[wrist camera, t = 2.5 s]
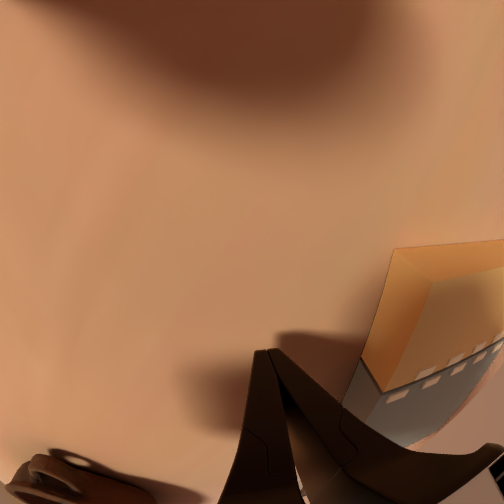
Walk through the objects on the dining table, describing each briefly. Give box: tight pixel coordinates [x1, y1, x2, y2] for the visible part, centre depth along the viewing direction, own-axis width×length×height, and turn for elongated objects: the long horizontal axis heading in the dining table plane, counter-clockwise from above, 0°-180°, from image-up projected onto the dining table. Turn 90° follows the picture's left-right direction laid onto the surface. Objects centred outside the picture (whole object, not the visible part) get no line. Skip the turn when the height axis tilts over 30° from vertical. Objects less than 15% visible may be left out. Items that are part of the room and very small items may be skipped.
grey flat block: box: [341, 337, 504, 448], centre depth 16 cm, size 12×12×3 cm
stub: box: [361, 240, 504, 392], centre depth 12 cm, size 6×12×3 cm, turn 89°
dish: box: [5, 454, 158, 504], centre depth 16 cm, size 18×22×5 cm
